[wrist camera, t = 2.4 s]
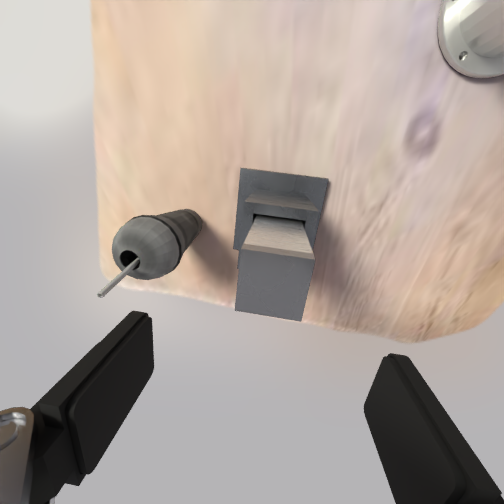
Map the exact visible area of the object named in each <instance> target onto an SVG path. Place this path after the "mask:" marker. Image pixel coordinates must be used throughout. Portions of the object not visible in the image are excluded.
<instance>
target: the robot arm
mask: <svg viewBox="0 0 504 504" xmlns="http://www.w3.org/2000/svg"><path fill="white" fill-rule="evenodd" d="M438 38H439V45H440V48H441V50H442V53H443V56H444V57H445V59H446V60H447V62H448V63H449V65H451V66H452V67H453V68H454V69H455V70H456V71H458V72H460V73H462V74H464V75H466V76H469V77H474V78H491V77H495V76H500V75H503V74H504V0H443V1H442V3H441V7H440V13H439V18H438ZM459 58H460V60H459ZM153 369H154V355H153V332H152V318H151V317H149V316H148V314H147V313H144V312H138V311H132V312H130V313H129V314H128V315H127V316H126V317H125V318H124V319H123V320H122V321H121V322H120V323H119V324H118V325H117V326H116V327H115V328H114V329H113V330H112V331H111V332H110V333H109V334H108V335H107V336H106V337H105V338H104V339H103V340H102V341H101V342H99V343H98V344H97V345H95V346H94V347H93V348H92V349H91V350H90V351H89V352H88V353H87V354H86V355H85V356H84V357H83V358H82V359H81V360H80V361H79V362H78V363H77V364H76V365H75V366H74V367H73V368H72V369H71V370H70V371H69V372H68V373H67V374H66V375H65V376H64V377H63V378H62V379H61V380H60V381H58V383H56V384H55V385H54V386H53V387H52V388H51V389H50V390H49V391H48V393H46V394H45V395H44V396H43V397H42V398H41V399H40V400H39V401H38V402H37V403H36V404H35V405H34V406H33V407H32V408H31V409H28V408H25V407H13V408H9V409H5V410H2V411H0V504H54V503H55V496H56V495H57V494H58V493H59V491H60V490H61V488H62V486H63V485H64V484H65V483H67V484H71V485H76V486H79V485H80V483H81V482H82V480H83V479H84V477H85V475H86V474H90V473H92V471H93V470H94V469H95V467H96V466H97V464H98V463H99V461H100V459H101V458H102V456H103V454H104V453H105V451H106V449H107V448H108V446H109V445H110V443H111V441H112V439H113V438H114V436H115V435H116V433H117V431H118V430H119V428H120V426H121V425H122V423H123V422H124V420H125V418H126V417H127V415H128V413H129V412H130V410H131V408H132V407H133V405H134V403H135V402H136V400H137V398H138V396H139V395H140V394H141V392H142V390H143V389H144V387H145V385H146V384H147V382H148V380H149V379H150V377H151V375H152V373H153ZM364 413H365V417H366V420H367V423H368V425H369V428H370V431H371V434H372V437H373V439H374V443H375V445H376V448H377V451H378V454H379V457H380V460H381V462H382V465H383V468H384V471H385V474H386V477H387V480H388V482H389V485H390V488H391V491H392V494H393V497H394V500H395V502H396V504H504V500H503V498H502V497H501V494H502V492H501V491H500V490H499V488H498V487H497V485H496V484H495V482H494V481H493V479H492V478H491V476H490V475H489V474H488V472H487V471H486V469H485V468H484V466H483V465H482V463H481V462H480V460H479V459H478V457H477V456H476V455H475V454H474V452H473V450H472V449H471V447H470V446H469V444H468V443H467V441H466V440H465V439H464V437H463V436H462V434H461V433H460V431H459V430H458V428H457V427H456V425H455V424H454V423H453V421H452V420H451V418H450V417H449V415H448V414H447V412H446V411H445V409H444V408H443V406H442V405H441V404H440V402H439V401H438V399H437V398H436V396H435V395H434V393H433V392H432V391H431V389H430V388H429V386H428V385H427V383H426V382H425V380H424V379H423V378H422V376H421V374H420V373H419V372H418V370H417V369H416V367H415V366H414V365H413V363H412V361H411V360H410V359H409V357H407V356H404V355H398V354H391V353H390V354H388V356H387V357H384V358H383V360H382V362H381V364H380V367H379V369H378V372H377V374H376V377H375V379H374V382H373V384H372V386H371V389H370V391H369V394H368V397H367V399H366V401H365V404H364Z"/></svg>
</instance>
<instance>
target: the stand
mask: <svg viewBox="0 0 504 504" xmlns="http://www.w3.org/2000/svg"><path fill="white" fill-rule="evenodd" d="M327 184H328V179H327V178H319V177H311V176H303V175H295V174H287V173H279V172H271V171H263V170H255V169H247V168H241V170H240V181H239V192H238V203H237V214H236V225H235V236H234V247H233V249H237V250H239V257H238V267H237V269H239V264H240V254H241V248H242V246H243V244H244V241H245V239H246V237H247V235H248V233H249V231H250V229H251V227H252V225H253V222H254V220H255V218H256V216H257V214H262V215H269V216H277V217H284V218H291V219H298V220H301V221H302V224H303V227H304V229H305V232H306V235H307V238H308V240H309V243H310V246H311V249H312V251H313V246H314V242H315V237H316V233H317V229H318V224H319V220H320V215H321V211H322V206H323V202H324V197H325V193H326V188H327Z"/></svg>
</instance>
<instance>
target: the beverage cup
mask: <svg viewBox="0 0 504 504" xmlns="http://www.w3.org/2000/svg"><path fill="white" fill-rule="evenodd" d="M201 228H202V221H201V218H200V217H199V215H198V214H197V213H196V212H195V211H193V210H190V209H184V210H177V211H173V212H169V213H165V214H160V215H156V216H155V215H141V216H138V217H134V218H132V219H131V220H130V221H128V222H127V223H126V224H125V225H123V226H122V227H121V228H120V229H119V231H118V232H117V234H116V235H115V237H114V239H113V244H112V254H113V259H114V261H115V263H116V265H117V266H118V267H119V268H120V270H121V271H122V272H121V273H120V274H119V275H118V276H116V277H115V278H114V279H113V280H112V281H111V282H110V283H109V284H108V285H106V286H105V287H104V288H103V289H102V290H101V291H100V292H99V293H98V294H97V296H98V297H100V298H102V297H104V296H105V295H106V294H107V293H108V292H109V291H110V290H111V289H112V288H113V287H114V286H115V285H116V284H118V283H119V282H120V281H121V280H122V279H123V278H124V277H125V276H126V275H128V276H131V277H133V278H136V279H143V280H150V279H155V278H160V277H162V276H164V275H166V274H168V273H170V272H171V271H173V270H174V269H175V268H176V267H177V266H178V264H179V263H180V260H181V258H182V256H183V253H184V252H185V250H186V249H187V248H188V247H189V245H190V244H191V243H192V242H193V240H194V239H195V238H196V237H197V235H198V234H199V232H200V231H201Z"/></svg>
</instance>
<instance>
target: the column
mask: <svg viewBox="0 0 504 504" xmlns="http://www.w3.org/2000/svg"><path fill="white" fill-rule="evenodd" d="M314 264H315V257H314V254H313V251H312V249H311V246H310V243H309V240H308V238H307V235H306V232H305V229H304V227H303V224H302V221H301V220H298V219H291V218H284V217H277V216H269V215H262V214H257V216H256V218H255V220H254V222H253V225H252V227H251V229H250V231H249V233H248V235H247V237H246V239H245V241H244V244H243V246H242V248H241V254H240V264H239V274H238V283H237V293H236V303H235V311H241V312H247V313H253V314H259V315H265V316H271V317H277V318H283V319H289V320H295V321H301V320H302V316H303V311H304V307H305V303H306V299H307V294H308V290H309V286H310V281H311V277H312V273H313V268H314Z"/></svg>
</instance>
